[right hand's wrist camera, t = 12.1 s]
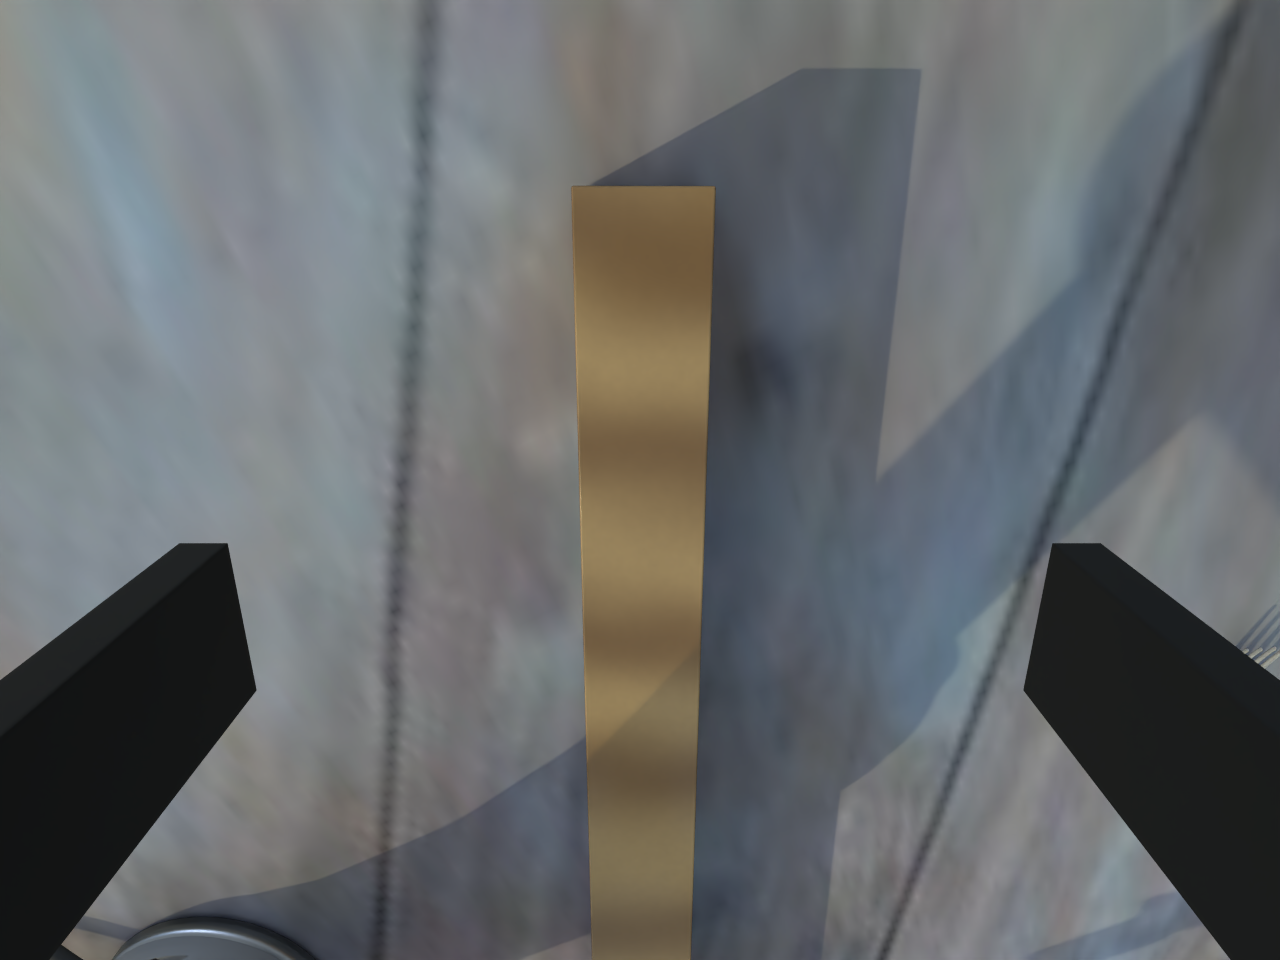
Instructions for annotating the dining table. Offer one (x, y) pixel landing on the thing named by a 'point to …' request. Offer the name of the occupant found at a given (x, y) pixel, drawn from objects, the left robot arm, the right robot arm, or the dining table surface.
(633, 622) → the post
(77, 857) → the right robot arm
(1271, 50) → the dining table surface
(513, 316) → the dining table surface
